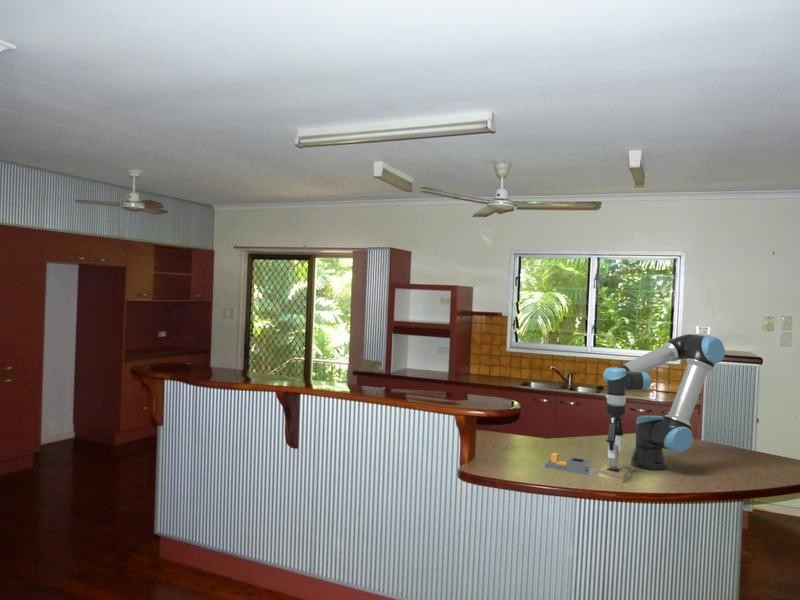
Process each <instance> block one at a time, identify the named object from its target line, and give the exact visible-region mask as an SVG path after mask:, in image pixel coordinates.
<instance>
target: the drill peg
mask: <svg viewBox="0 0 800 600" xmlns="http://www.w3.org/2000/svg"><path fill="white" fill-rule="evenodd" d="M618 461H619V451H618V445H615V458H609V466H610V471H614V472H617V471H618V468H619V466H618V465H619V462H618Z"/></svg>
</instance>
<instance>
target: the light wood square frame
mask: <svg viewBox="0 0 800 600" xmlns="http://www.w3.org/2000/svg"><path fill="white" fill-rule="evenodd" d="M628 474H629V469H628V468H623V467H618V471H617V472H614V471H610V465H602V467H600V469H598V477H601V478H607V479H613V480H620V481H622V482H621V483H622V484H625V482H626V480H627V479H628Z"/></svg>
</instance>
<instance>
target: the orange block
mask: <svg viewBox="0 0 800 600" xmlns="http://www.w3.org/2000/svg"><path fill="white" fill-rule="evenodd" d="M550 456H551V457H550V460H551V464H558V465H564V466H566V461H561V460H559V453H556V452H553V453H551V455H550Z"/></svg>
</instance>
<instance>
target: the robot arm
mask: <svg viewBox="0 0 800 600" xmlns="http://www.w3.org/2000/svg"><path fill="white" fill-rule="evenodd" d="M725 351H726V350H725V346H724V342H722V340H721V339H720V338H718V337H716V336H711V335H701V334H692V333H688V334H684V335H680V336H677V337H674V338H672V339H670V340H668V341H666V342H665V341H664V342H663V344H662V346H660V347H658V348H655V349H654V350H651V351H649V352H648V353H647V352H646V353H645V354H643V355H641V356H639V357H636V358H634V359H632V360H630V361H628V362H625V363H624V364H622V365H620V366H617V367H614V366H613V367H612V366H611V367H607V368H606V369H604V371H603V374H602V377H603V380H604V382H606V395H605V399H606V403H607V404H606V406H605V407H606V413H607V414H608V415H610V416H611V417H609V423H608V433H607V439H606V443H608V444H607V458H609V459H610V458H615V445H618V452H621V451H622V436H624V433H623V426H622V425H623V424H622V415H623V416H624V415H625V414H626V406H625V405H626V398H627V397H626V396H627V395H626V393H627V391H639V390H640V391H643V390H647V389H649V388H650V387H651V384H652V381H651V380H652V379H651V377H650V375H649V373H648V372H650V371H652V370H654V369H656V368H658V367H661V366H663V365H665V364H667V363H669V362H672V363H673V362H677V361H678V360H685V362H686V363H687V364H686V368H685V370H684V373H683V375H682V379H681V381H680V384H679V387H678V389H677V391H676V395H675V397H674V400H673V402H672V404H671V407H670V410H669V413H667V414H666V415H664V416H661V415H638V417H636V421H635V447H634V450H633V453H632V455H631V458H630V464H631V466H633V467H636V468H639V469H643V470H649V471H650V470H651V471H663V470H665V469H666V468H667V461H666V458H665V455H664V451H663V449H665V450H667V451H669V452H672V453H678V454H679V453H683V452H685V451H687V450H688V449H689V448H690V447H691V446H692V443H693V441H694V436H693V432H692V431H691V429H692V425H691V423H690V420H691V417H692V415H693V412H694V409H695V407H696V405H697V402H698V399H699V396H700V393H701V390H702V388H703V385H704V383H705V379H706V377H707V375H708V373H709V372H710V371H712V370H713V369H714V367H715V364H719V363H720V362H722V361H723V360H724V358H725V355H726V354H725V353H726V352H725Z"/></svg>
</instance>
